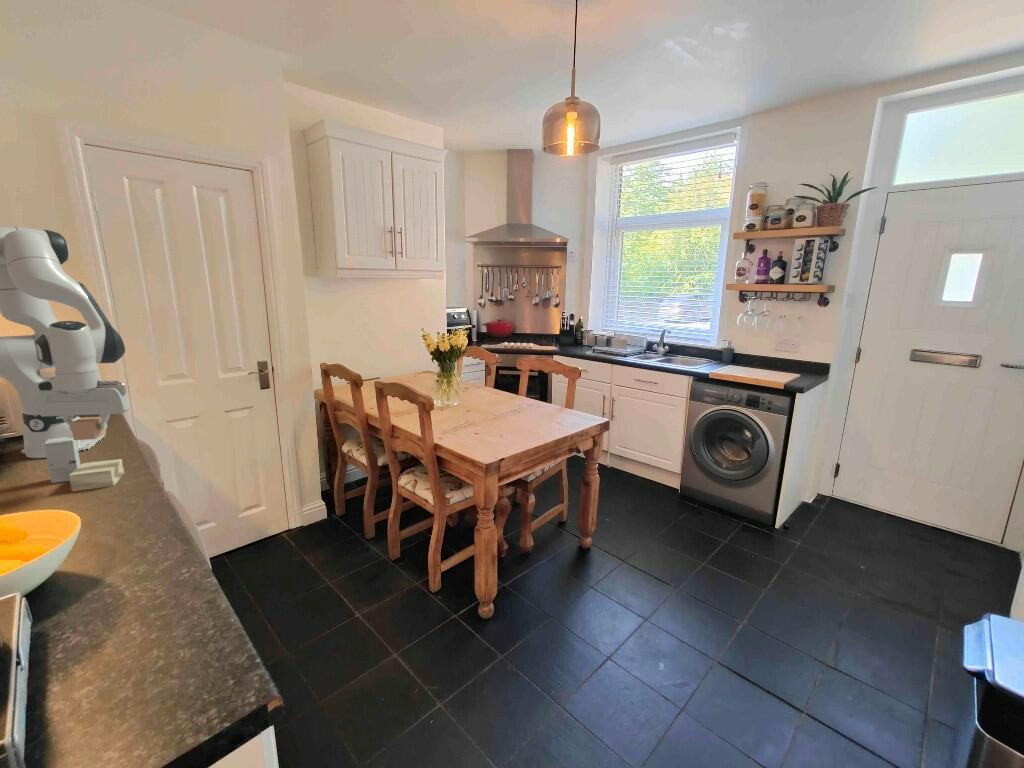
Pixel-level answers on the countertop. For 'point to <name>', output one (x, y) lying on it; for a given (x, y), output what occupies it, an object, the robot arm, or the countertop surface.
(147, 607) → the countertop surface
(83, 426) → the terracotta cube
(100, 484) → the birch block
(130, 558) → the countertop surface
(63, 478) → the skincare box
